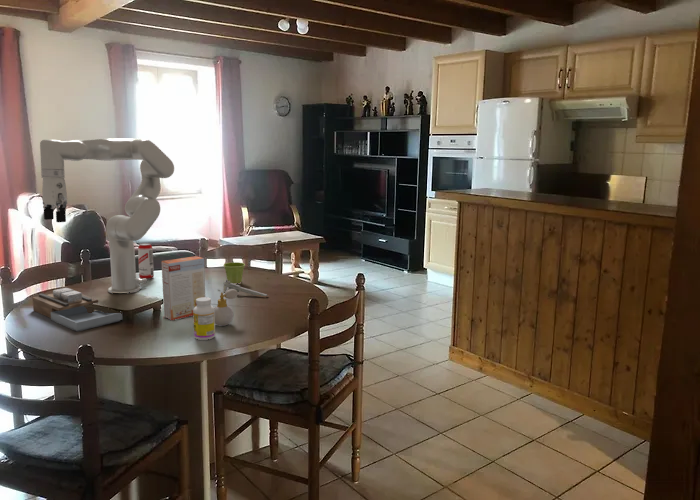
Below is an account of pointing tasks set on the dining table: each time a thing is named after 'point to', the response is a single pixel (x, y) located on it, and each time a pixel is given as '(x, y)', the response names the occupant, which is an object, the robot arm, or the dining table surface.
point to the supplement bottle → (204, 319)
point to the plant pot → (234, 271)
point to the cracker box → (182, 286)
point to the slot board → (57, 304)
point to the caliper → (240, 289)
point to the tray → (83, 318)
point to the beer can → (145, 261)
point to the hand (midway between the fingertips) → (54, 220)
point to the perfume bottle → (224, 308)
